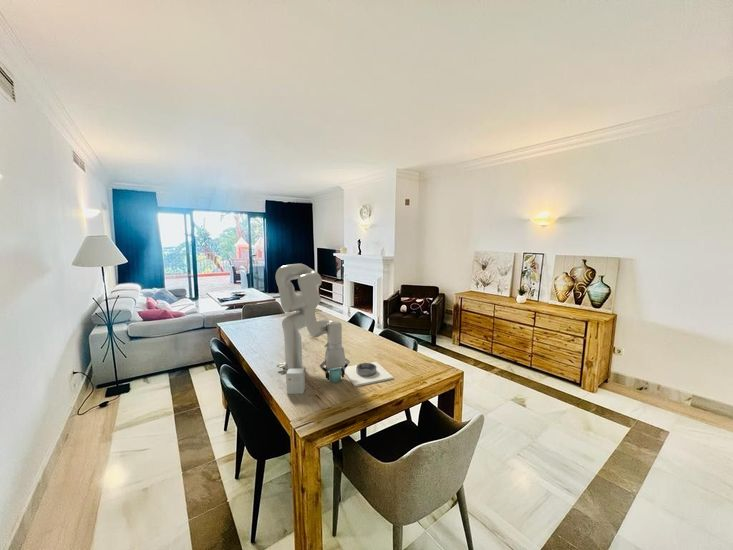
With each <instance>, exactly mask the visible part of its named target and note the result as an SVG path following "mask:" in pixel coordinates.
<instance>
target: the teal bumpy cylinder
mask: <svg viewBox="0 0 733 550" xmlns="http://www.w3.org/2000/svg"><path fill="white" fill-rule="evenodd" d="M341 368H342V367H338V368H332V369H329V371H328V372H329V380H328V381H329V382H330V383H333V384H334V383H335V384H336V383H339V382H341V380H342V376H341V375H342V372H341Z"/></svg>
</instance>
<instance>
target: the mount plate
mask: <svg viewBox="0 0 733 550" xmlns="http://www.w3.org/2000/svg"><path fill="white" fill-rule="evenodd" d="M370 363H371V364H374V365H375V366H376V374H375V375H373V376H370V377H362V376H360V375H358V374H357V373H356V367H357V365H358V364H355V365H354V364H353V365H348V366H347V367H346V368H345V375H344V376H345V377H346V378H347V379H348V380H349V382H351V384H352V385H353V387H355V388H356V387H361V386H365V385H371V384H375V383H381V382H384V381H385V382H386V381H390V380H394V376H393V375H392V374H391V373H390V372H389V371H387V370H386V368H384V367H383V366H382V365H381V364H380V363H379V362H377V361H372V362H370ZM362 370H371V369H362Z"/></svg>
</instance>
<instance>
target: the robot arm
mask: <svg viewBox="0 0 733 550" xmlns="http://www.w3.org/2000/svg"><path fill="white" fill-rule="evenodd" d="M293 280H297V284H298V288H299V290H300V293H296V290H295V286H294V284H293V283H292V281H293ZM275 281H276V285H277V287H278V294H279V298H280V303H281V304H280V305H281V309H282V311H283V312H284V313H286V314H288V315H287V316H285V317H284V318H283V319H282V320H281V328H282V331H283V341H284V360H283V362H282V363H276V368H279V369H282V372H284V373H285V374H286V373H287V371H288V369H299V368H304V370H305V369H306V365H305V364H304V363H303V346H302V343H303V342H302V335H301V333H300V330H303V329H304V328H306V329H307V331H308V333H309V335H310V336H311V337H312V338H319V337H321V336H323V335H327V336H326V337H327V339H326V340H327V343H326V344H324V348H326V349H325V356H324V360H323V361H322V362H321V363H320V364H319V367H320V369H321V370H322V371H323V372H325V374H324V375H325V379H326V380H327V381H330V380H329V369H332V368H338V367H340V368H341V372H342V375H341V378H345V376H346V375H345V368H346V367H347V366H349V364H350V363H351V361H350V360H349V359H348V358H346V355H345V349H344V346H343V336H342V335H343V331H342V330H343V329H342V328H343V326H342V322H340V321H336V320H335V321H334V320H332V319H331V320H330V319H328V318H323V319H320V320H317V317H316V310H317V307H318V305H319V304H320V302H321V301H322V298H321V296H320V292H319V291H318V288H319V287H320V286H322V282H323V280H322V277H321V275H320V274H319V272H317V271H315V270H314V269H312V268H311V267H309V266H308V265H306V264H303V263H292V264H291V263H290V264H286V265H282V266H280V267H278V269H276V272H275ZM293 312H295V313H293ZM290 313H292V314H290ZM324 366H326V367H324Z"/></svg>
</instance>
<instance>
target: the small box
mask: <svg viewBox="0 0 733 550" xmlns="http://www.w3.org/2000/svg"><path fill="white" fill-rule="evenodd" d="M305 375H306V374H305V369H304V368H299V369H288V371H287V373H286V372H285V377H286V394H287V395H292V394H293V395H300V394H304V392H305V389H306V379H305V377H306V376H305Z"/></svg>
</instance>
